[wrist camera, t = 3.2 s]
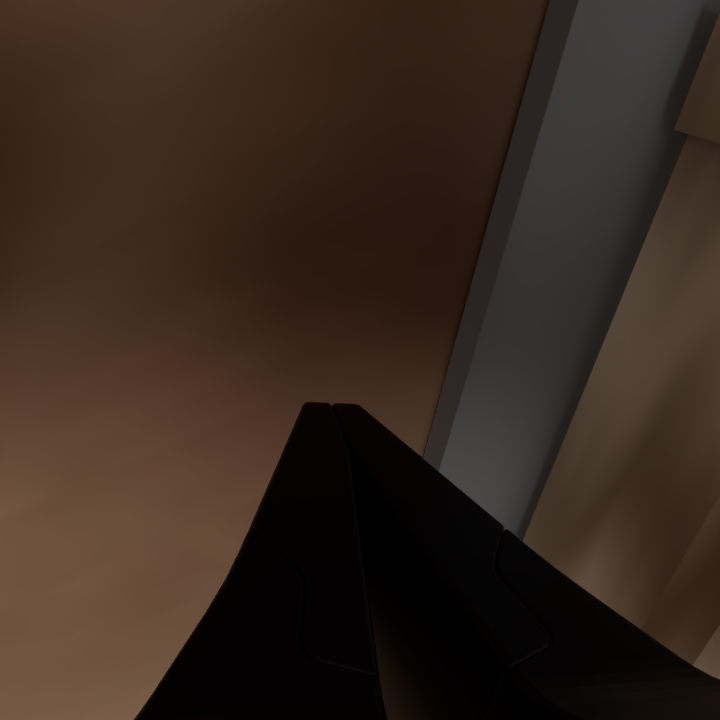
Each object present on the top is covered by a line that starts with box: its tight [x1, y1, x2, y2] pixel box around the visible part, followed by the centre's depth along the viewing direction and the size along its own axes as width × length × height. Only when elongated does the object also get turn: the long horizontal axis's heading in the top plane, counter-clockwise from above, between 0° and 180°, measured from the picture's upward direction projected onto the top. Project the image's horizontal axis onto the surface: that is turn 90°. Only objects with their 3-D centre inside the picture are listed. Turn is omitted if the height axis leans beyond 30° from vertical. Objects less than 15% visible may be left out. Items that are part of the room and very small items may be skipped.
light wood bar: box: [523, 14, 720, 679], centre depth 11 cm, size 16×2×5 cm, turn 170°
